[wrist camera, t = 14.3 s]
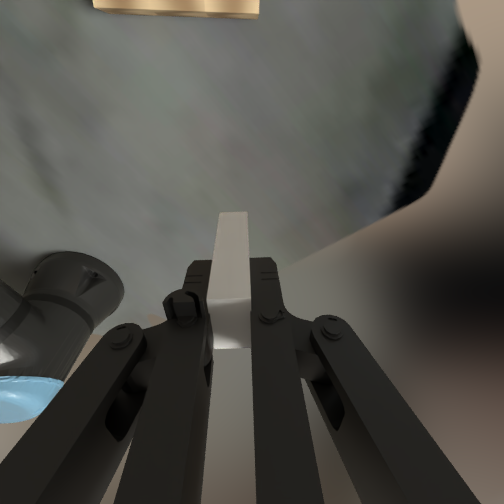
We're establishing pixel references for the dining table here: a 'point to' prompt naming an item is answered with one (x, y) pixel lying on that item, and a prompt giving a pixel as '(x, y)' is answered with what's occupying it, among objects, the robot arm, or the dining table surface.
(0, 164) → the dining table surface
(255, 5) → the board
